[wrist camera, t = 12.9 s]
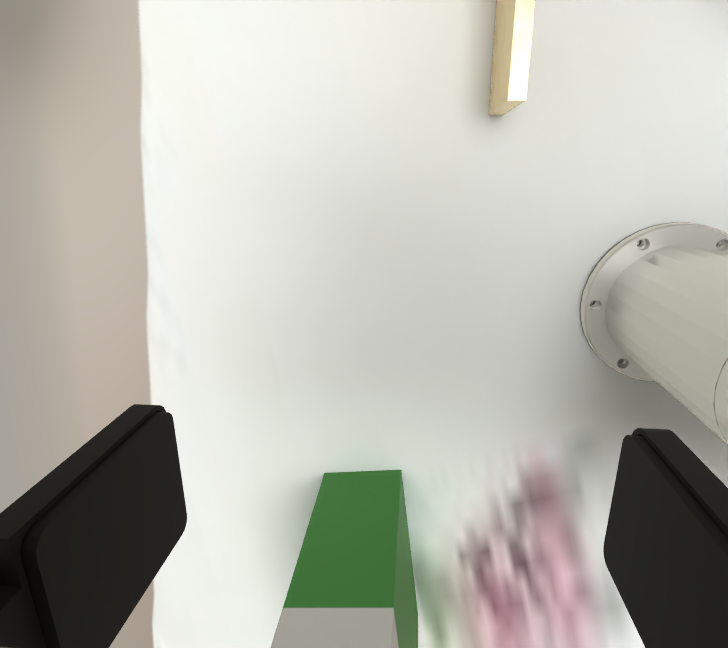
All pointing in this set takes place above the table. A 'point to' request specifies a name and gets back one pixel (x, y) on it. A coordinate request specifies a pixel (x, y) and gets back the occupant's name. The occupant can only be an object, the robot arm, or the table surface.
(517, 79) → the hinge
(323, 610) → the hardback book
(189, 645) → the table surface
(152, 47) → the table surface
